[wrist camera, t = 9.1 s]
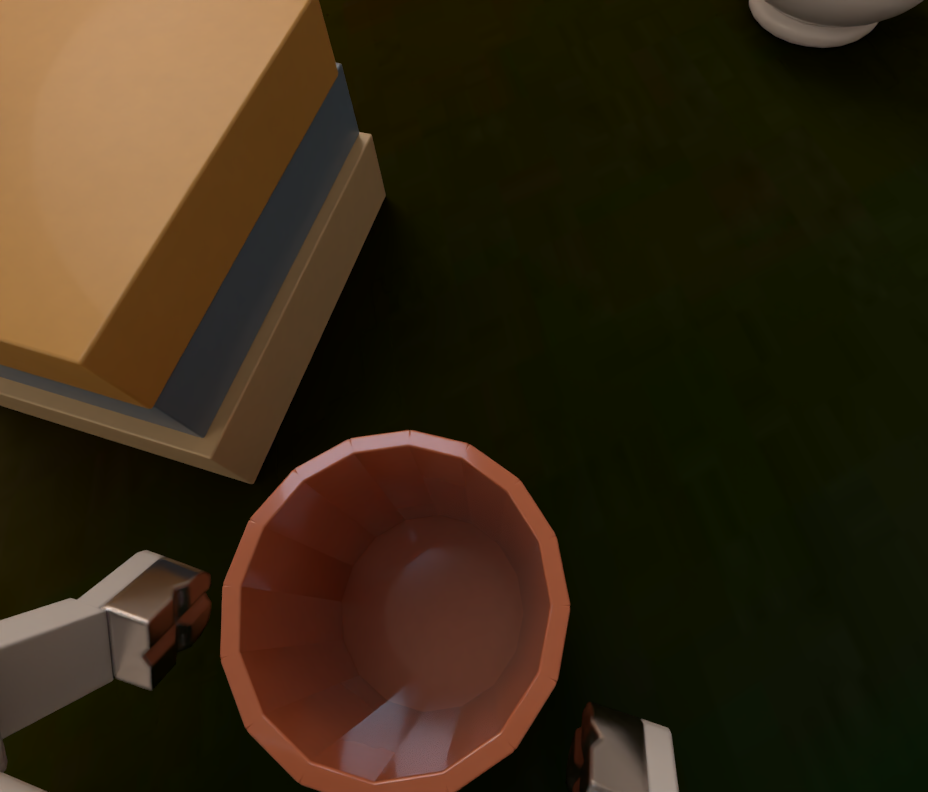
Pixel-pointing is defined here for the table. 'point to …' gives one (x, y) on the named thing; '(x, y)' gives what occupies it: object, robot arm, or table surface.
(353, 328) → the table surface
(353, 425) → the table surface
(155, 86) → the book stack
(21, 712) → the robot arm
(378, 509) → the cup
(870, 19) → the flower vase
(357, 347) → the table surface
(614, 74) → the table surface
